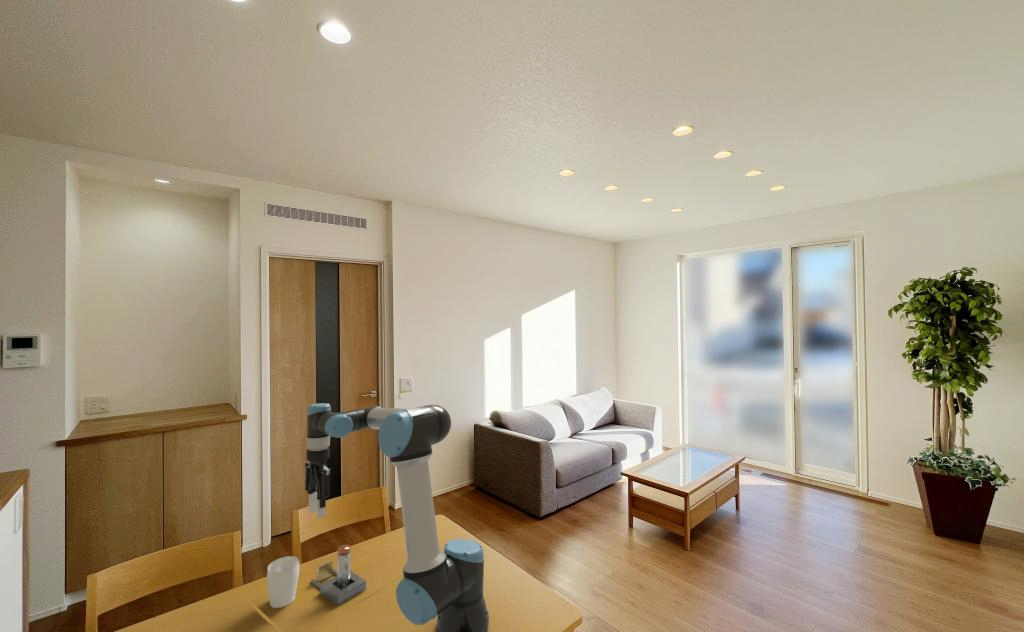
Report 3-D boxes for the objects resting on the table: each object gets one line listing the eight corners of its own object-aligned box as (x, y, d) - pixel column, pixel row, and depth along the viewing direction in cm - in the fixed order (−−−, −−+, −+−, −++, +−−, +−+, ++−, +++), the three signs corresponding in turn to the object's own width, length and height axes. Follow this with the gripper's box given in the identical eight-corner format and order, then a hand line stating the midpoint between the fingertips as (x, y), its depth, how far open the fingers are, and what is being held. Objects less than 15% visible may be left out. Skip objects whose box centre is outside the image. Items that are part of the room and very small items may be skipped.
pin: (352, 590, 133) (353, 547, 134) (341, 596, 130) (342, 552, 131) (345, 585, 136) (346, 543, 136) (334, 592, 132) (335, 548, 133)
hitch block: (373, 586, 136) (373, 576, 137) (334, 609, 125) (334, 598, 125) (343, 567, 147) (343, 558, 147) (304, 587, 136) (305, 576, 136)
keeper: (332, 575, 141) (332, 560, 141) (318, 582, 137) (319, 567, 137) (330, 573, 142) (330, 559, 142) (316, 580, 138) (316, 565, 138)
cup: (284, 614, 123) (285, 574, 123) (258, 610, 125) (259, 570, 125) (305, 595, 132) (306, 557, 132) (281, 591, 133) (282, 554, 134)
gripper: (342, 449, 142) (340, 517, 142) (315, 441, 153) (313, 503, 152) (321, 455, 136) (319, 525, 136) (295, 445, 147) (293, 511, 146)
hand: (316, 514), depth 144 cm, fingers open, 5 cm apart
